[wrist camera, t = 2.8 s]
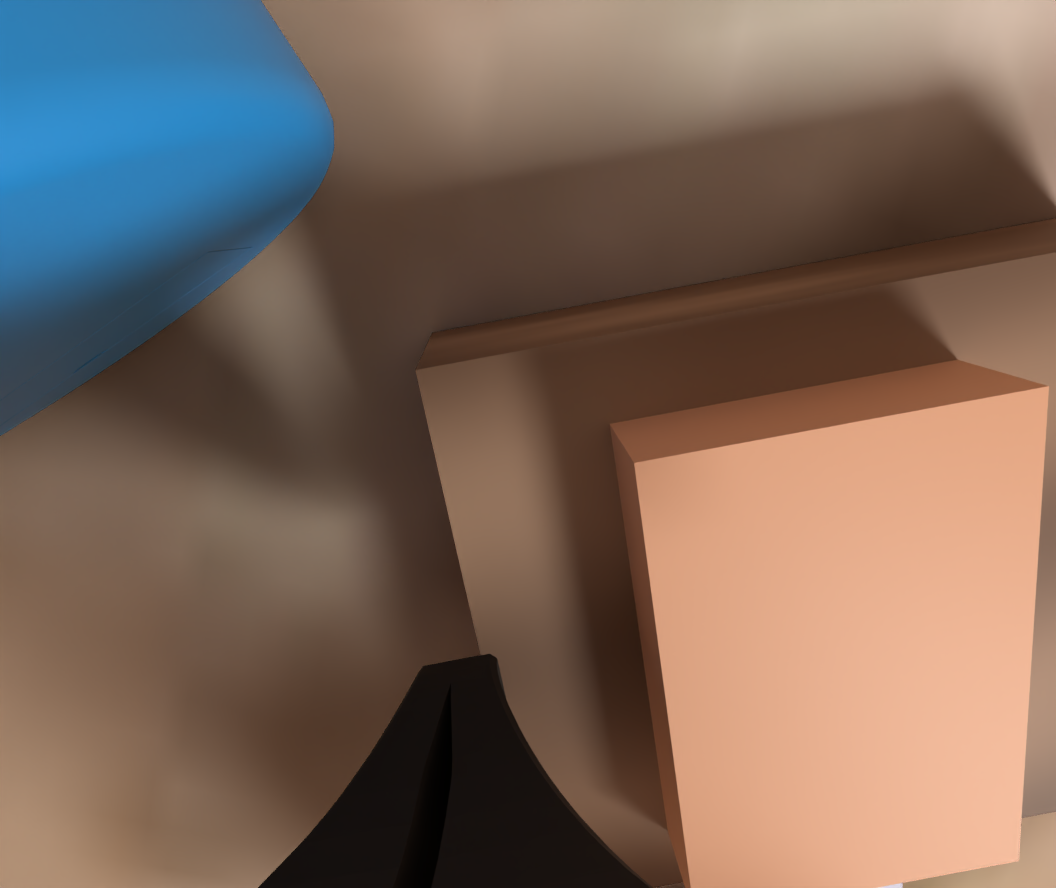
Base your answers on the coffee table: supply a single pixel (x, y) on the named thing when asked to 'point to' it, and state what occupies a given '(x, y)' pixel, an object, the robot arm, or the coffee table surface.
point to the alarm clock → (137, 173)
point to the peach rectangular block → (839, 623)
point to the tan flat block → (669, 386)
